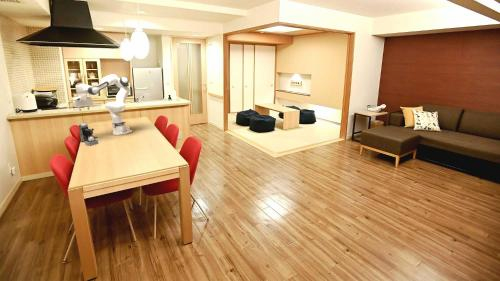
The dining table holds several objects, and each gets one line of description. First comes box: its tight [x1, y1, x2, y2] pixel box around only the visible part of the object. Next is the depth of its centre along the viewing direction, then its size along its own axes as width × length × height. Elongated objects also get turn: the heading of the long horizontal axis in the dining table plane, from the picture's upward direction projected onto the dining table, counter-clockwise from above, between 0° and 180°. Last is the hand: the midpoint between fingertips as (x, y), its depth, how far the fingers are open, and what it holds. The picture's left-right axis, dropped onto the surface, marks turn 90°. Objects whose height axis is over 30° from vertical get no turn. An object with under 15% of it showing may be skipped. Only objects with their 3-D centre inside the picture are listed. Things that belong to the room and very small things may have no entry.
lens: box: [88, 134, 95, 142], centre depth 288 cm, size 5×5×8 cm
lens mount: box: [84, 138, 99, 147], centre depth 289 cm, size 9×9×4 cm
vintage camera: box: [78, 122, 99, 142], centre depth 298 cm, size 10×16×20 cm, turn 78°
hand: (84, 110), depth 302 cm, fingers open, 8 cm apart
